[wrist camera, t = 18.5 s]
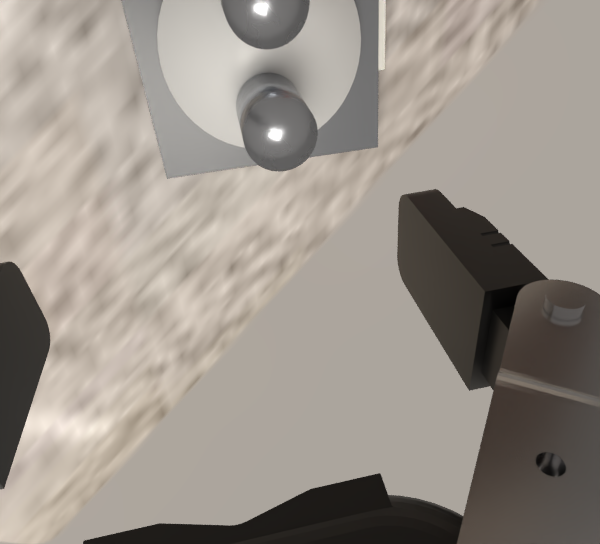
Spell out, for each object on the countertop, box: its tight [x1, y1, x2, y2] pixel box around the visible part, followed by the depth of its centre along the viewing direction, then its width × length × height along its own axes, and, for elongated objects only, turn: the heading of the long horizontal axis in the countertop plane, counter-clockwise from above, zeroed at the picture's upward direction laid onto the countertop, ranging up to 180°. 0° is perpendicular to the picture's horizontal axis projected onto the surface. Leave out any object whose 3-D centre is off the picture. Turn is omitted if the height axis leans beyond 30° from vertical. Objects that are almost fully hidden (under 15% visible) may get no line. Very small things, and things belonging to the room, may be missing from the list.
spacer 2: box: [236, 73, 318, 171], centre depth 31 cm, size 4×4×6 cm
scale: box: [121, 0, 386, 179], centre depth 34 cm, size 16×17×5 cm
